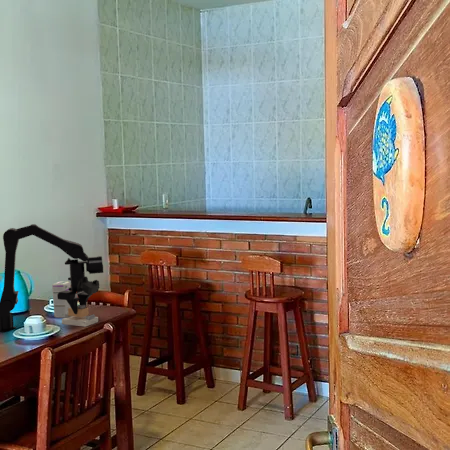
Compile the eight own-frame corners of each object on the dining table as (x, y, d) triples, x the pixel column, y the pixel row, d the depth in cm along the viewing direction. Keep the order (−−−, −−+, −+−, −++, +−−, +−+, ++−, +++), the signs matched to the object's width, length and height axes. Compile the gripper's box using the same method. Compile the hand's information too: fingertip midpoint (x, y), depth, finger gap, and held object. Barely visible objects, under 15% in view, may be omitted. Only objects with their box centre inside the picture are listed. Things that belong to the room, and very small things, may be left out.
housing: (68, 315, 252) (67, 305, 252) (75, 313, 256) (74, 303, 255) (82, 317, 249) (81, 306, 249) (88, 314, 253) (88, 304, 252)
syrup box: (66, 317, 262) (64, 283, 261) (53, 317, 263) (51, 283, 262) (72, 314, 268) (70, 281, 266) (60, 314, 269) (58, 281, 268)
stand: (85, 326, 246) (85, 317, 246) (62, 324, 252) (61, 315, 251) (98, 321, 253) (97, 313, 253) (75, 319, 259) (74, 311, 259)
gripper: (77, 279, 239) (80, 319, 240) (108, 271, 255) (109, 309, 257) (55, 278, 244) (57, 317, 245) (86, 270, 260) (88, 307, 262)
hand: (79, 312), depth 252 cm, fingers closed on housing, 4 cm apart
